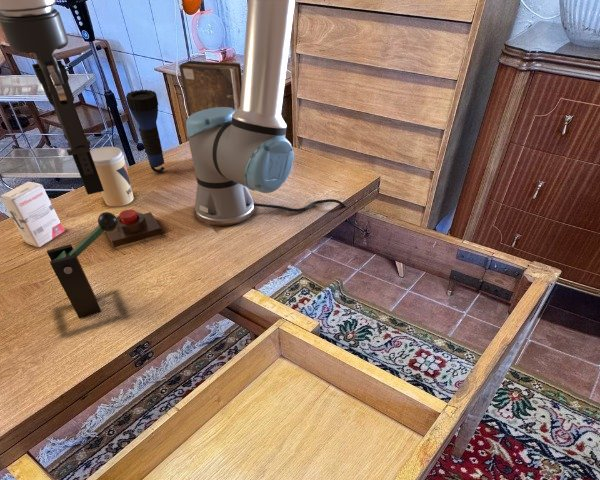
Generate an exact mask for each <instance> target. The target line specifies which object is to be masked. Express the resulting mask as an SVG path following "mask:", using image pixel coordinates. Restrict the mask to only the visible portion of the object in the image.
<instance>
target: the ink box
mask: <svg viewBox="0 0 600 480" xmlns="http://www.w3.org/2000/svg"><path fill="white" fill-rule="evenodd" d="M0 201H1V202H2V204H3V206H4V207H5V209H6V210H7V212H8V214H9V216H10V218H11V219H12V221H13V222H14V225H15V226H16V228H17V230H18V231H19V233H20V235H21V237H22V238H23V240H24V242H25V243H26V244H28V245H31V246H34V247H36V248H41V247H42V246H44V245H46V244H47V243H48V242H50V241H51V240H53V239H55V238H56V237H58V236H59V235H61V234H62V233H64V232H65V228H64V227H63V224H62V222H61V220H60V219H59V216H58V214H57V212H56V210H55V208H54V206H53V204H52V202H51V200H50V197H49V196H48V194H47V192H46V190H45V188H44V186H43V184H42V183H37V182H33V181H26V182H24V183H22V184H21V185H19V186H16V187H15V188H13V189H11V190H9V191H8V192H5V193H2V194H1V195H0Z"/></svg>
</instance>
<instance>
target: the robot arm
mask: <svg viewBox="0 0 600 480" xmlns="http://www.w3.org/2000/svg"><path fill="white" fill-rule="evenodd" d="M55 5H56V0H0V12H1V13H0V26H1V28H2V32H3V33H4V36H5V38H6V40H7V43H8V46H9V47H10V49H11V50H13V51H14V52H16V53H20V54H25V55H26V54H31V53H32V54H33V55H34V58H35V61H36V63H32V64H31V66H32V69H33V72H34V74H35V75H36V78H37V79H38V81H39V83H40V84H41V86H42V87H41V88H43V92H44V95H45V97H46V98H47V100H48V102H49V104H50V105H51V106H52V107H53V110H54V112H55V114H56V118H57V119H58V122H59V124H60V127H61V129H62V132H63V137H64V139H65V140H66V142H67V146H68V147H69V148H70V149H66V152H67V155H68V156H69V157H70V156H72V158H73V161H74V163H75V166H76V169H77V171H78V174H79V176H80V179H81V182H82V184H83V186H84V189H85V191H86V194H87V195H88V196H89V195H93V194H97V193H101V192H102V191H104V189H103V187H102V184H101V181H100V178H99V175H98V173H97V170H96V167H95V164H94V162H93V159H92V156H91V153H90V151H91V141H90V140H89V139H87V138H86V135H85V132H84V129H83V126H82V123H81V119H80V117H79V114H78V111H77V109H76V105H75V103H74V102H75V97H74V95H73V91H72V88H71V86H70V83H69V75H68V72H67V69H66V67H65V65H64V64H63V62H62V60H57V58H56V55H55V53H54V52H55V51H56V50H62V49H64V48H65V47H67V45H68V44H69V38H68V35H67V32H66V29H65V26H64V22H63V20H62V17H61V13H60V12H59V11H58V10H57V8H54V7H53V6H55ZM295 5H296V0H247V9H246V21H245V22H246V23H245V24H246V25H245V37H244V47H243V48H244V49H243V61H242V63H243V64H242V88H241V101H240V107H239V109H238V110H236V111H235V110H234V109H233V108H229V107H217V108H210V109H205V110H202V111H199V112H196V113H194V114H192V115H190V116H188V117H187V119H186V120H185V121H186V122H185V126H186V127H185V128H186V137H187V139H188V144H189V149H190V155H191V158H192V164H193V169H194V175H195V178H196V185H197V186H196V194H195V203H194V209H195V214H196V218H197V219H198V220H199V221H200V222H201V223H203V224H204V223H207V224H208V225H210V226H217V227H225V226H232V225H233V226H234V225H236V224H239V223H242V222H245V221H247V220H248V219H249V218H251V217H252V216H253V214H254V212H255V207H257V208H258V207H261V208H268V209H269V208H271V209H279V210H283V211H288V212H298V213H299V212H303V211H306V210H309V209H310V208H312V207H313V206H315V205H317V204H325V203H336V204H339V205H341V207H343V208H347V205H346V204H345V203H344V202H343V201H341V200H339V199H334V198H328V199H320V200H315V201H313V202H311V203H309V204H308V205H306V206H304V207H299V208H292V207H287V206H283V205H277V204H276V205H275V204H267V203H257V202H256V203H255V202H254V199H253V197H252V194H251V192H250V190H251V191H253V192H258V193H262V194H270V193H273V192H275V191H277V190H278V189H280V188H281V187H282V185H283V184H285V182H286V181H287V179H288V178H289V176H290V174H291V172H292V169H293V164H294V149H293V146H292V143H291V142H290V141H289V140H288V139H287V138H286V134H287V127H288V126H287V125H288V124H287V123H286V122H285V120H284V118H283V116H282V110H283V109H282V108H283V101H284V94H285V93H284V92H285V85H286V77H287V70H288V63H289V62H288V61H289V53H290V45H291V39H292V37H291V36H292V29H293V21H294V13H295ZM343 326H347V321H344V322H343Z"/></svg>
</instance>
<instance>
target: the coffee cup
mask: <svg viewBox="0 0 600 480" xmlns="http://www.w3.org/2000/svg"><path fill="white" fill-rule="evenodd" d="M90 153H91V156H92V159H93V162H94V164H95V167H96V170H97V173H98V175H99V178H100V181H101V184H102V187H103V189H104V191H102V192H100V194H101V196H102V198H103V201H104V203H105V204H106V205H107V206H109V207H122V206H126V205H129V204H130V203H132V202H133V200H134V192H133V189H132V185H131V181H130V176H129V172H128V168H127V164H126V160H125V154H124V152H123V150H121V149H120V148H118V147H117V146H102V147H96V148H93V149H92V150H90Z"/></svg>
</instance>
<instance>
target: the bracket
mask: <svg viewBox="0 0 600 480" xmlns="http://www.w3.org/2000/svg"><path fill="white" fill-rule="evenodd" d="M73 249H74V247H73V245H72V244H71V243H70V244H67V245H63V246H58V247H55V248H50V249H48V250H46V254H47V256H48V257H49V260H50V261H49V263H50V267H51V268H52V270H53V272H54V274H55V275H56V277H57V280H58V282H59V284H60V285H61V287H62V289H63V291H64V292H65V294H66V296H67V298H68V300H69V303H70V304H71V306H72V308H73V310H74V312H75V314H76V315H77V318H78V319H82V318H85V317H86V318H87V317H89V316H93V315H96V314H98V313H101V312H102V309H101V307H100V305H99V302H98V299H97V297H96V295H95V292H94V289H93V288H92V286H91V283H90V281H89V280H88V277H87V275H86V273H85V271H84V269H83V268H84V267H82V264H81V262H80V260H79V258H78V257H77V258H76V256H75V255H71V256H68V257H64V258H60V259H57V260H54V259H55V258H57V257H58V256H59V255H60V254H61V253H62V252H63V251H66V252H67V253H68V254H69V253H70V252H71V251H72V250H73Z"/></svg>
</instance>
